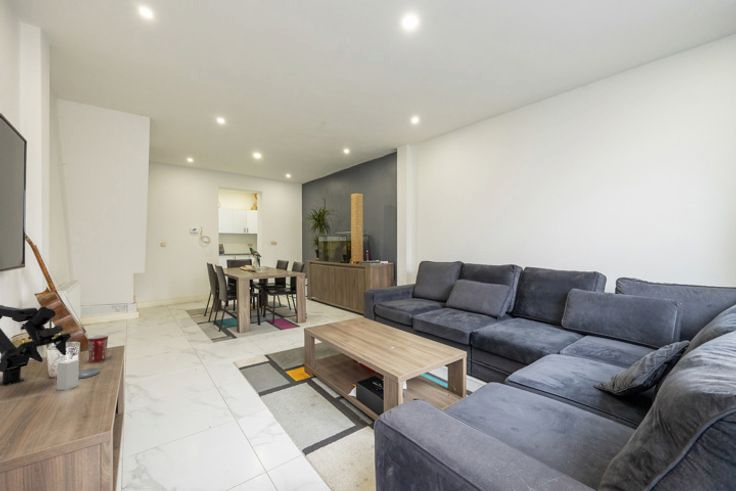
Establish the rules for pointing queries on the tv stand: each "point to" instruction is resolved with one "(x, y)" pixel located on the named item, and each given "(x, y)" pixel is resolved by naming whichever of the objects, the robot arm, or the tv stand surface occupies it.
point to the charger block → (67, 374)
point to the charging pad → (88, 373)
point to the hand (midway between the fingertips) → (53, 358)
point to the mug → (97, 347)
